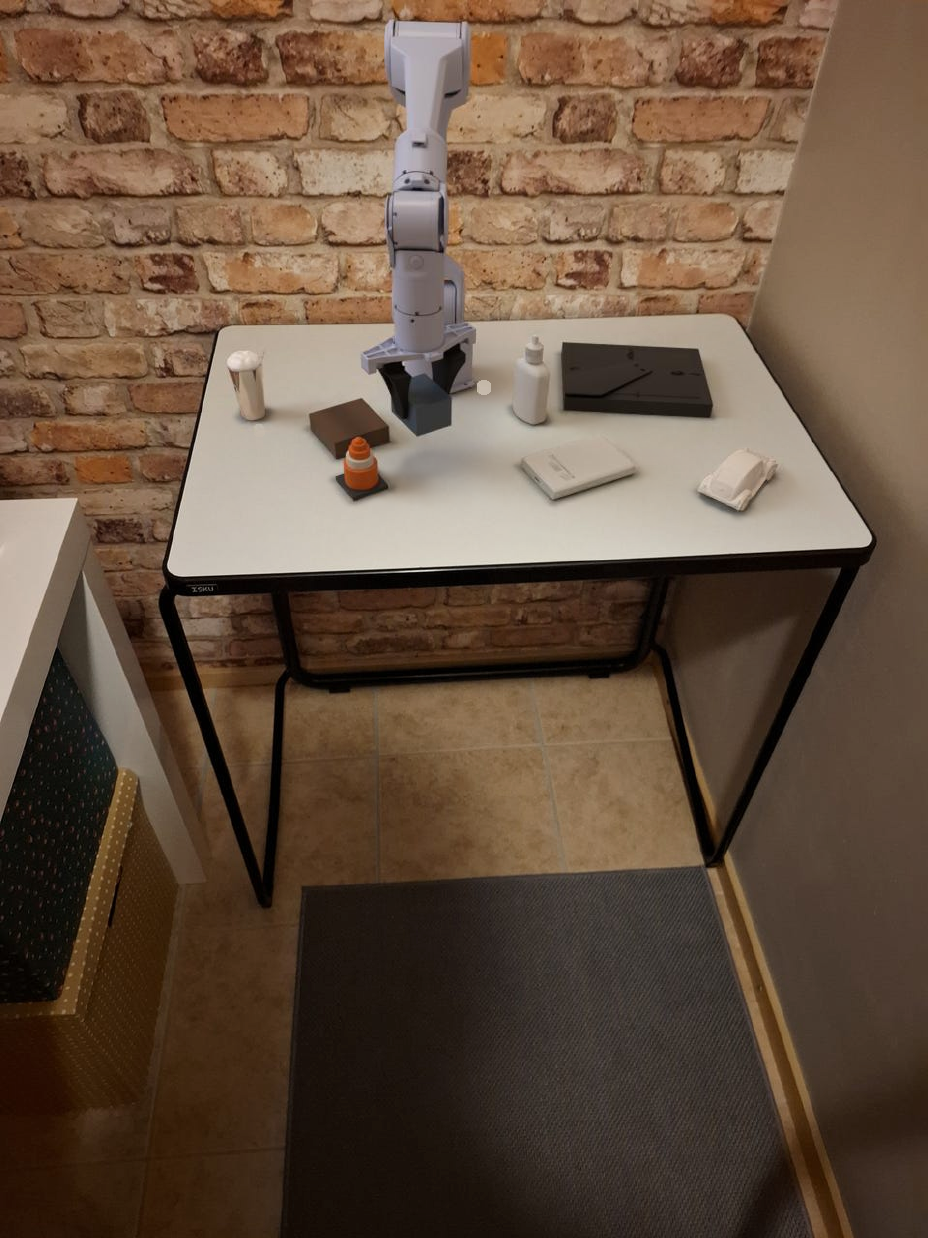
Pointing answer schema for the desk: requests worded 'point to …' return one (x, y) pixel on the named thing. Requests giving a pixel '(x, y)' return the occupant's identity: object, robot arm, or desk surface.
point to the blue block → (426, 406)
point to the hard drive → (577, 466)
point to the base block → (348, 426)
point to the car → (738, 478)
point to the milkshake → (248, 383)
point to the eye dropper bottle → (531, 384)
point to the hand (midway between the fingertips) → (420, 408)
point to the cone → (361, 471)
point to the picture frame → (634, 380)
